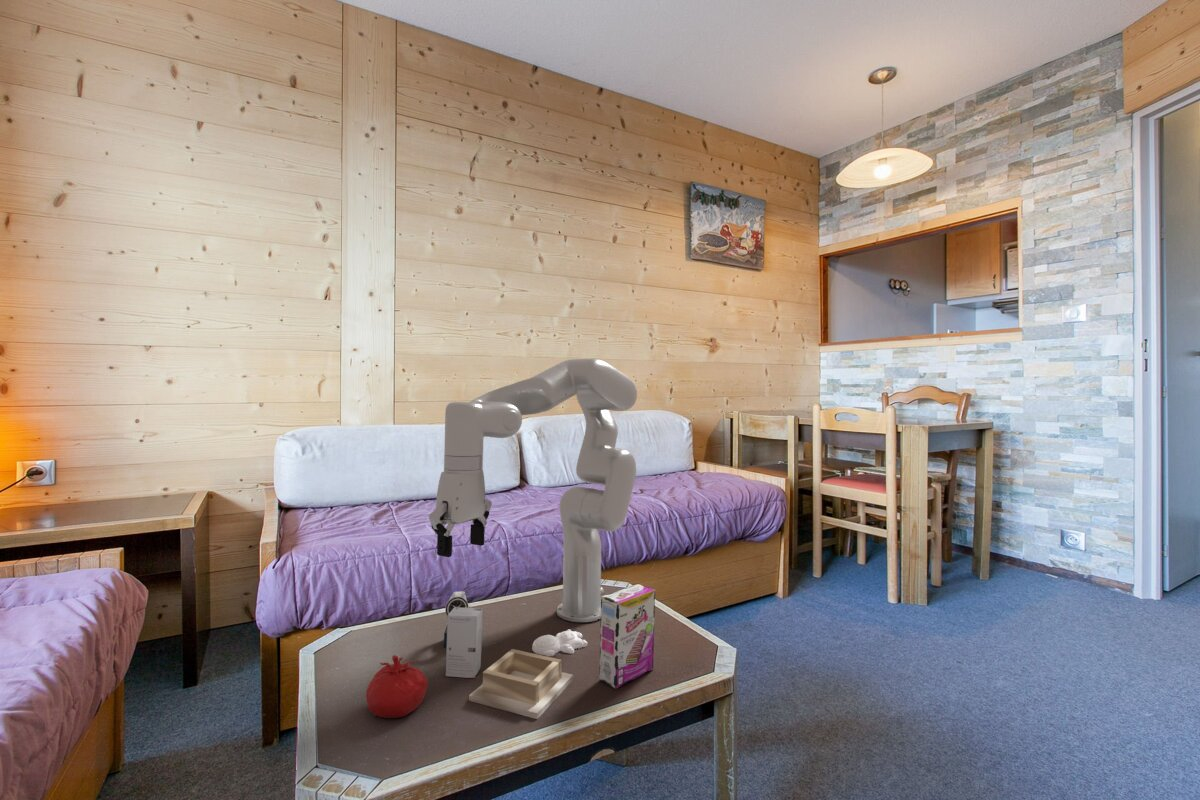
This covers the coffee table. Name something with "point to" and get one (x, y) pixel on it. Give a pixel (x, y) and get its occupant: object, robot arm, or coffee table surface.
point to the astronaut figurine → (558, 643)
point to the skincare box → (464, 642)
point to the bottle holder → (522, 683)
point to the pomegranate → (396, 689)
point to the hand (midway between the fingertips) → (461, 550)
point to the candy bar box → (626, 634)
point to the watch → (455, 601)
